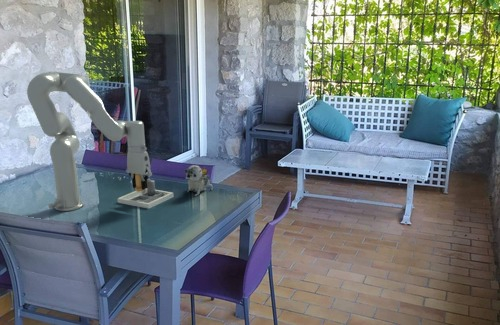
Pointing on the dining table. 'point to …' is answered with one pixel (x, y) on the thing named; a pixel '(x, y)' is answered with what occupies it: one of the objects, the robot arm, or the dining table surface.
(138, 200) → the tray
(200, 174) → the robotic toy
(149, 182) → the jaw grey
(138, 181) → the jaw orange
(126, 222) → the dining table surface
